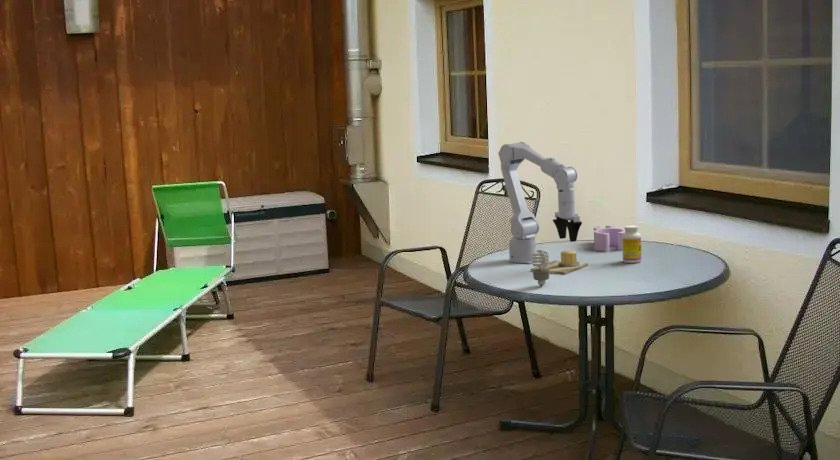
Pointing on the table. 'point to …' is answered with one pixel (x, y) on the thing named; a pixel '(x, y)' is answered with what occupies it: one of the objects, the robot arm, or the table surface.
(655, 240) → the table surface
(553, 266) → the stud plate
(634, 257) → the supplement bottle
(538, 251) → the light bulb
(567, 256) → the cap
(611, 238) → the clip
